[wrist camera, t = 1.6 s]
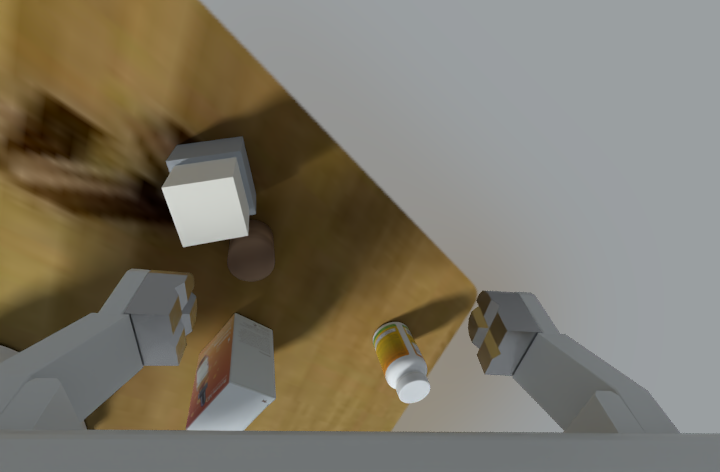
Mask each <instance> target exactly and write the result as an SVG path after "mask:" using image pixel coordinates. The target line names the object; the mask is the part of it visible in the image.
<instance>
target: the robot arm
mask: <svg viewBox="0 0 720 472" xmlns="http://www.w3.org/2000/svg"><path fill="white" fill-rule="evenodd" d="M194 285H195V283H194V277H193V275H192V274H191V273H184V272H172V271H160V270H143V269H130V270H128V271H127V272H126V273H125V274H124V276H123V277H122V279H121V280H120V282H119V283H118V285H117V286H116V287H115V289H114V290H113V292H112V293H111V295H110V296H109V298H108V299H107V301H106V302H105V303H104V305H103V306H102V308H101V309H100V311H99V312H98V313H90V314H88V315H87V316H85V317H83V318H81V319H79V320H78V321H76V322H74V323H72V324H70V325H68V326H67V327H65V328H63V329H61V330H59V331H58V332H56V333H54V334H52V335H50V336H48V337H47V338H45V339H43V340H41V341H39V342H38V343H36V344H34V345H32V346H30V347H29V348H27V349H25V350H23V351H21V352H17V351H15V350H12V349H10V348H7V347H4V346H1V345H0V472H720V434H699V433H695V434H694V433H692V434H691V433H683V434H682V433H680V432H679V431H678V429H677V428H676V427H675V425H674V424H673V423H672V422H671V420H670V419H669V418H668V416H667V415H666V414H665V413H664V411H663V410H662V409H661V407H660V406H659V405H658V403H657V402H656V401H655V400H654V398H653V397H652V396H651V394H650V393H649V392H648V391H647V390H646V389H644V388H643V387H641V386H640V385H638V384H637V383H636V382H634V381H633V380H631V379H630V378H628V377H627V376H625V375H624V374H622V373H621V372H620V371H618V370H617V369H615V368H614V367H612V366H611V365H609V364H608V363H607V362H605V361H604V360H602V359H601V358H599V357H598V356H596V355H595V354H593V353H592V352H590V351H589V350H588V349H586V348H585V347H583V346H582V345H580V344H579V343H577V342H576V341H575V340H573V339H572V338H570V337H569V336H567V335H565V334H560V333H559V331H558V330H557V328H556V327H555V325H554V324H553V322H552V320H551V319H550V317H549V316H548V314H547V313H546V311H545V310H544V308H543V307H542V305H541V304H540V302H539V301H538V299H537V297H536V296H535V295H534V294H532V293H526V292H514V293H513V292H499V291H482V292H481V293H480V294H479V296H478V298H477V300H476V301H477V303H478V305H479V307H477V308H476V309H474V310H473V311H472V312H471V315H470V317H469V324H468V330H469V336H470V338H471V341H472V343H473V344H474V345H476V346H477V347H478V348H479V351H478V354H477V356H478V359H479V361H480V364H481V366H482V369H483V371H484V373H485V374H490V375H507V376H513V378H514V379H515V381H516V382H517V383H518V384H520V386H521V387H522V388H523V389H524V390H525V391H526V392H527V393H528V394H529V395H530V396H531V397H532V398H533V399H534V400H535V401H536V402H537V403H538V404H539V405H540V406H541V407H542V408H543V409H544V410H545V411H546V412H547V413H548V414H549V415H550V417H552V419H554V420H555V422H556V423H557V424H558V425H559V426H560V427H561V428H562V429H563V430H564V432H563V433H535V432H533V433H532V432H531V433H530V432H360V431H214V430H87V428H86V425H85V422H84V419H85V418H86V417H88V416H89V415H90V414H91V413H92V412H93V411H94V410H95V409H97V408H98V407H99V406H100V405H101V404H102V403H103V402H105V401H106V400H107V399H108V398H109V397H110V396H111V395H113V394H114V393H115V392H116V391H117V390H118V389H119V388H120V387H122V386H123V385H124V384H125V383H126V382H127V381H128V380H130V379H131V378H132V377H133V376H134V375H135V374H136V373H137V372H139V371H140V370H141V369H142V368H143V366H179V364H180V361H181V358H182V356H183V353H184V351H185V348H186V346H187V342H186V335H187V334H189V333H190V332H192V330H193V327H194V324H195V320H196V315H197V297H196V296H195V295H194V294H193V293H192V290H193V288H194Z"/></svg>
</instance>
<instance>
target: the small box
mask: <svg viewBox="0 0 720 472" xmlns="http://www.w3.org/2000/svg"><path fill="white" fill-rule="evenodd" d="M275 399H276V393H275V370H274V348H273V331H272V330H271V329H269V328H267V327H265V326H263V325H261V324H259V323H256V322H254V321H252V320H250V319H248V318H246V317H243V316H241V315H239V314H237V313H234V314H233V316H232V317H231V318H230V320H229V321H228V322H227V323H226V324H225V326H224V327H223V328H222V329H221V330H220V331H219V332H218V334H217V335H216V336H215V337H214V338H213V339H212V340H211V341H210V343H209V344H208V345H207V346H206V347H205V348H204V349H203V350H202V352H201V353H200V354H199V359H198V365H197V370H196V376H195V381H194V387H193V393H192V398H191V403H190V408H189V414H188V419H187V425H186V430H214V431H244V430H245V429H246V427H247V426H248V425H249V424H250V423H251V422H252V421H253V420H254V419H255V418H256V417H257V416H258V415H259V414H260V413H261V412H262V411H263V410H264V409H265V408H266V407H267V406H268V405H269V404H271V403H272V402H273V401H274V400H275Z"/></svg>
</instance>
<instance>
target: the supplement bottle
mask: <svg viewBox="0 0 720 472" xmlns="http://www.w3.org/2000/svg"><path fill="white" fill-rule="evenodd" d="M373 345H374V348H375V350H376V353H377V356H378V358H379V361H380V364H381V366H382V369H383V372H384V375H385V377H386V380H387V382H388V384H389V385H390V386H391V387H392V388H394V389H396V391H397V394H398V396H399V398H400V400H401V401H403V402H405V403H414V402H418V401H420V400H422V399H423V398H425V397H426V396H427V395H428V393H429V391H430V384H429V381H428V379H427V377H426V374H427V365H426V363H425V360H424V358H423V357H422V355H421V353H420V351H419V349H418V346H417V345H416V343H415V341H414V339H413V337H412V335H411V333H410V331H409V329H408V327H407V326H406V325H405V324H403V323H401V322H390V323H387V324H384V325H382V326H381V327H380V328H378V329H377V331H376V332H375V334H374V336H373Z"/></svg>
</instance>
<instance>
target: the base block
mask: <svg viewBox="0 0 720 472" xmlns="http://www.w3.org/2000/svg"><path fill="white" fill-rule="evenodd" d="M232 157H236V158H237V162H238V166H239V170H240V174H241V178H242V182H243V186H244V190H245V194H246V198H247V202H248V206H249V215H254V214H256V191H255V187H254V183H253V179H252V174H251V170H250V166H249V161H248V157H247V153H246V149H245V144H244V140H243V136H241V137H234V138H226V139H219V140H212V141H204V142H197V143H189V144H182V145H176V147H175V148H174V150H173V151H172V153H171V154H170V156H169V157H168V159H167V160H166V163H167V166H168V169H169V172H171V171H172V169H173V167H174V166H176V165H183V164H190V163H197V162H204V161H211V160H218V159H225V158H232Z"/></svg>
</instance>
